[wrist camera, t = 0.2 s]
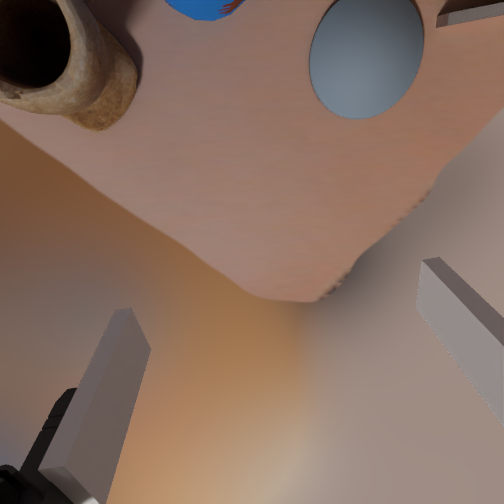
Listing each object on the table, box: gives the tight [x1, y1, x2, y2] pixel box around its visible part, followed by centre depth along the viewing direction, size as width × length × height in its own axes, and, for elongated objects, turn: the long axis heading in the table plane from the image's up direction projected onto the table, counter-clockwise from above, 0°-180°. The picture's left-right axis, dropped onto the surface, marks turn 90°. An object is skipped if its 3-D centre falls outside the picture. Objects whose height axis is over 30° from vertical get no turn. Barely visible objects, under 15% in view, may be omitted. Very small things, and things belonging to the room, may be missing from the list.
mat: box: [309, 0, 424, 119], centre depth 34 cm, size 12×12×1 cm
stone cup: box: [0, 0, 138, 132], centre depth 26 cm, size 15×12×15 cm
